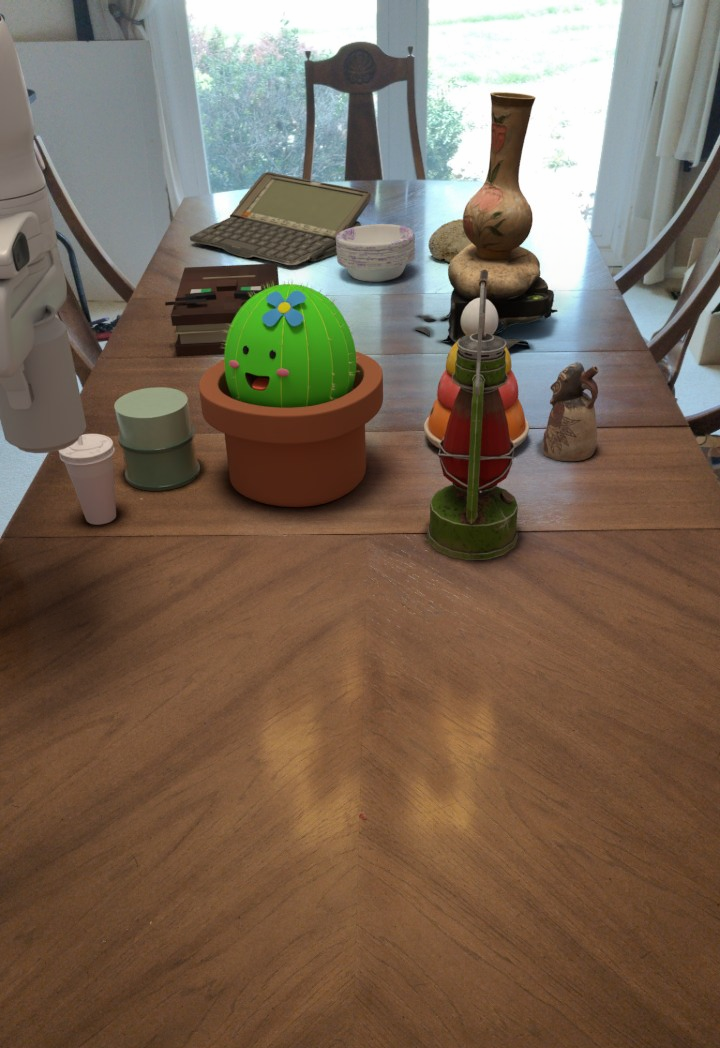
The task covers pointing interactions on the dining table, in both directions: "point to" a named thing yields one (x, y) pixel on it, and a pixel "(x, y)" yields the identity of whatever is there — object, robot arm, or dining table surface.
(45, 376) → the can
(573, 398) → the figurine
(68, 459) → the smoothie
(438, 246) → the decorative item
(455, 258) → the vase
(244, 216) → the laptop
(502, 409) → the lantern
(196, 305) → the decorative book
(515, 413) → the stacking toy
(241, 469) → the potted cactus
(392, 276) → the paper bowls
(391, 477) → the dining table surface
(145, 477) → the cup stack
